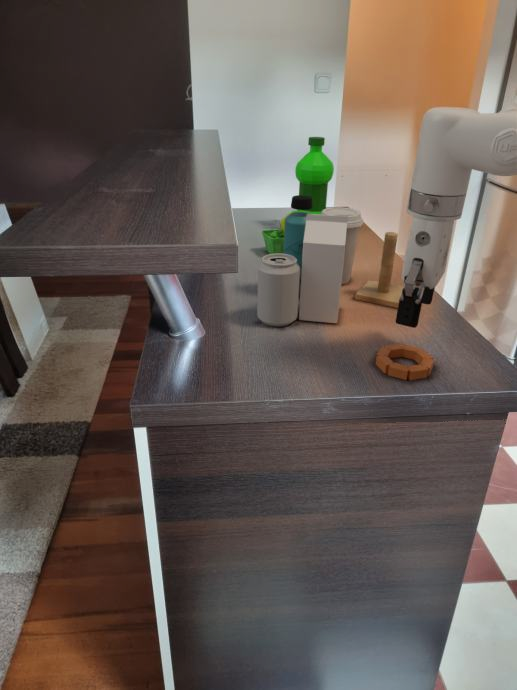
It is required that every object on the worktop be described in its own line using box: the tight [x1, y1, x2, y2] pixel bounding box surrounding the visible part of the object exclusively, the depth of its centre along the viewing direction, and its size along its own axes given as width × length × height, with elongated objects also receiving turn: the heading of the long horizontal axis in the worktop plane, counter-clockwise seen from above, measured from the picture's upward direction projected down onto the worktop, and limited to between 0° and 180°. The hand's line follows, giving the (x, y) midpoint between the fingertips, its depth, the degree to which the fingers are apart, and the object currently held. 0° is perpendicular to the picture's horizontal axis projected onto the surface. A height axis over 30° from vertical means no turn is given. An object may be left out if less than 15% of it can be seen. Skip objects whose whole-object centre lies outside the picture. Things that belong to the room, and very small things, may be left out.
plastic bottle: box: [294, 136, 335, 215], centre depth 142 cm, size 10×10×25 cm
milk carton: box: [298, 214, 348, 324], centre depth 93 cm, size 7×7×19 cm
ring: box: [375, 343, 435, 381], centre depth 81 cm, size 8×8×2 cm
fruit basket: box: [261, 210, 298, 254], centre depth 127 cm, size 11×9×11 cm
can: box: [256, 253, 300, 327], centre depth 93 cm, size 8×8×12 cm
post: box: [354, 231, 404, 309], centre depth 103 cm, size 9×9×13 cm
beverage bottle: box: [282, 194, 313, 294], centre depth 102 cm, size 6×7×20 cm
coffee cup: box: [321, 206, 364, 285], centre depth 111 cm, size 10×10×15 cm
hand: (413, 313), depth 81 cm, fingers open, 9 cm apart
